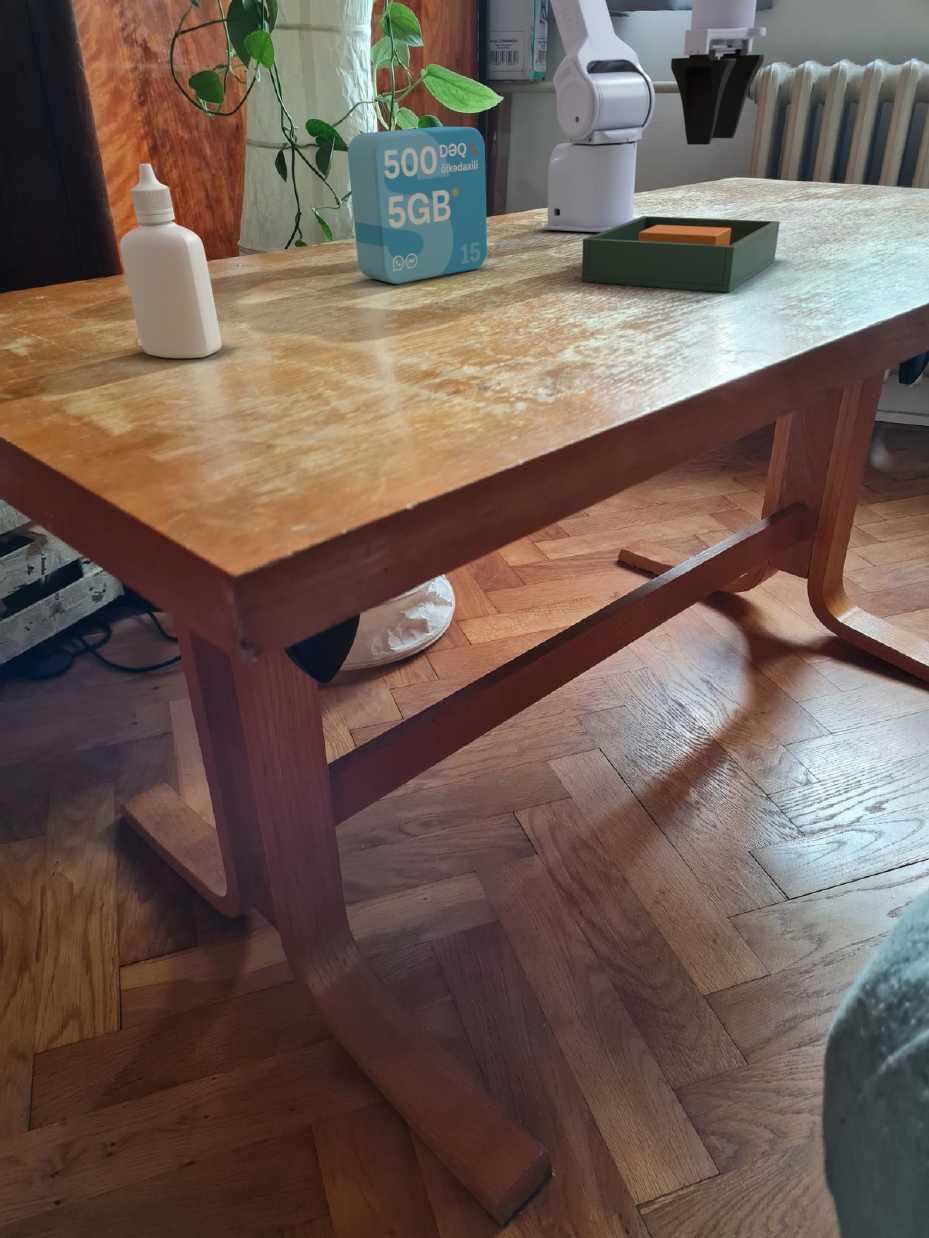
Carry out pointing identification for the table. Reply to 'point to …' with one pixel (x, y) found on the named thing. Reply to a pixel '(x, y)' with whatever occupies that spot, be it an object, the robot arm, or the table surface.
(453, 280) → the table surface
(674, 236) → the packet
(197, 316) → the eye dropper bottle
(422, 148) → the data package
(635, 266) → the bin
